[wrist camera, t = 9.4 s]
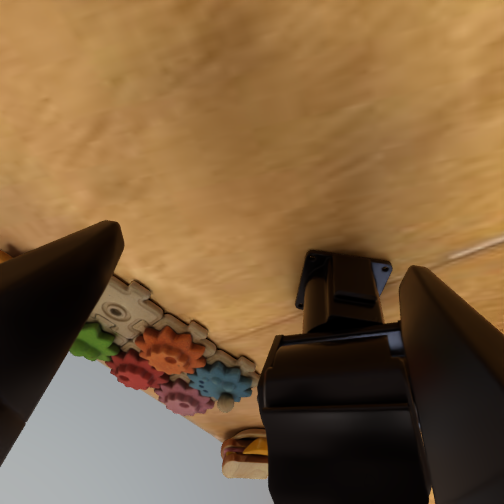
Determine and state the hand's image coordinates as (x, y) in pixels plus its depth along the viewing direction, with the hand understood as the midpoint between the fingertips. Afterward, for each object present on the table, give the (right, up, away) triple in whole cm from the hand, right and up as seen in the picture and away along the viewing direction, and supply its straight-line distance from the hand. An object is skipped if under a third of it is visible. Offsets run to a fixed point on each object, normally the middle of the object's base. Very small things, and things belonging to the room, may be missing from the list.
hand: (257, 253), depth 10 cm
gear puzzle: (-14, -9, +26) cm, 31 cm away
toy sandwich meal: (+2, -30, +40) cm, 51 cm away
